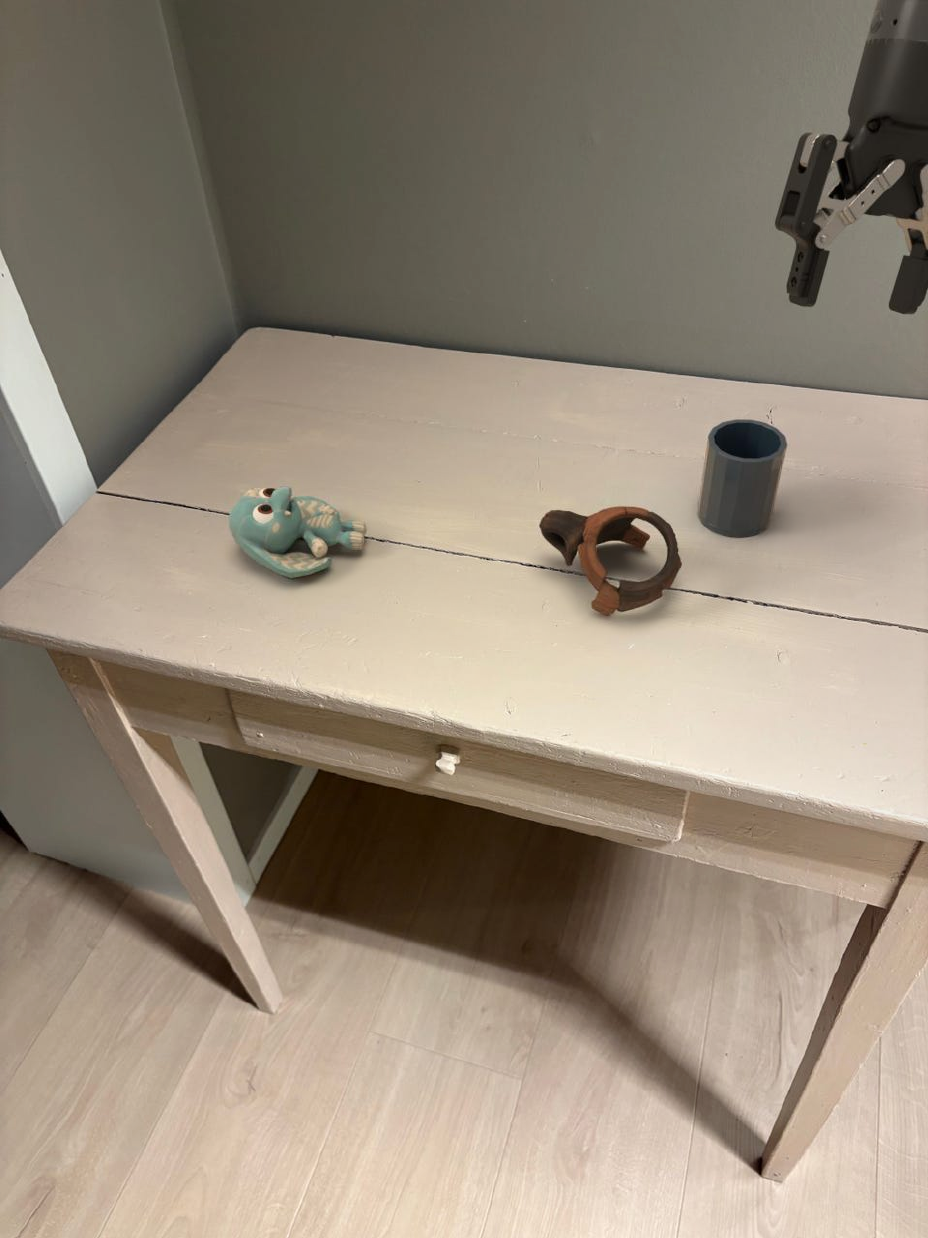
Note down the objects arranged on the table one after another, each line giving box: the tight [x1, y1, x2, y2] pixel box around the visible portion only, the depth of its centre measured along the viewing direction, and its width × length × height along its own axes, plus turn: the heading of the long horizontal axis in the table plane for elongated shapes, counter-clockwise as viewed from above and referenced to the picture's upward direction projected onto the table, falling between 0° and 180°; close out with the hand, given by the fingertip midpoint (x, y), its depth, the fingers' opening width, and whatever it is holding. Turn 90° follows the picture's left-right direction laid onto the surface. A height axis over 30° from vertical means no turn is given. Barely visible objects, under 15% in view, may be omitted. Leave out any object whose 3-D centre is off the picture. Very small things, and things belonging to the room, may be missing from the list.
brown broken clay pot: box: [538, 505, 683, 616], centre depth 79 cm, size 12×9×8 cm
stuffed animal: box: [228, 485, 368, 579], centre depth 84 cm, size 11×7×12 cm
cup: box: [697, 418, 788, 538], centre depth 84 cm, size 6×6×8 cm
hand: (852, 308), depth 67 cm, fingers open, 8 cm apart
